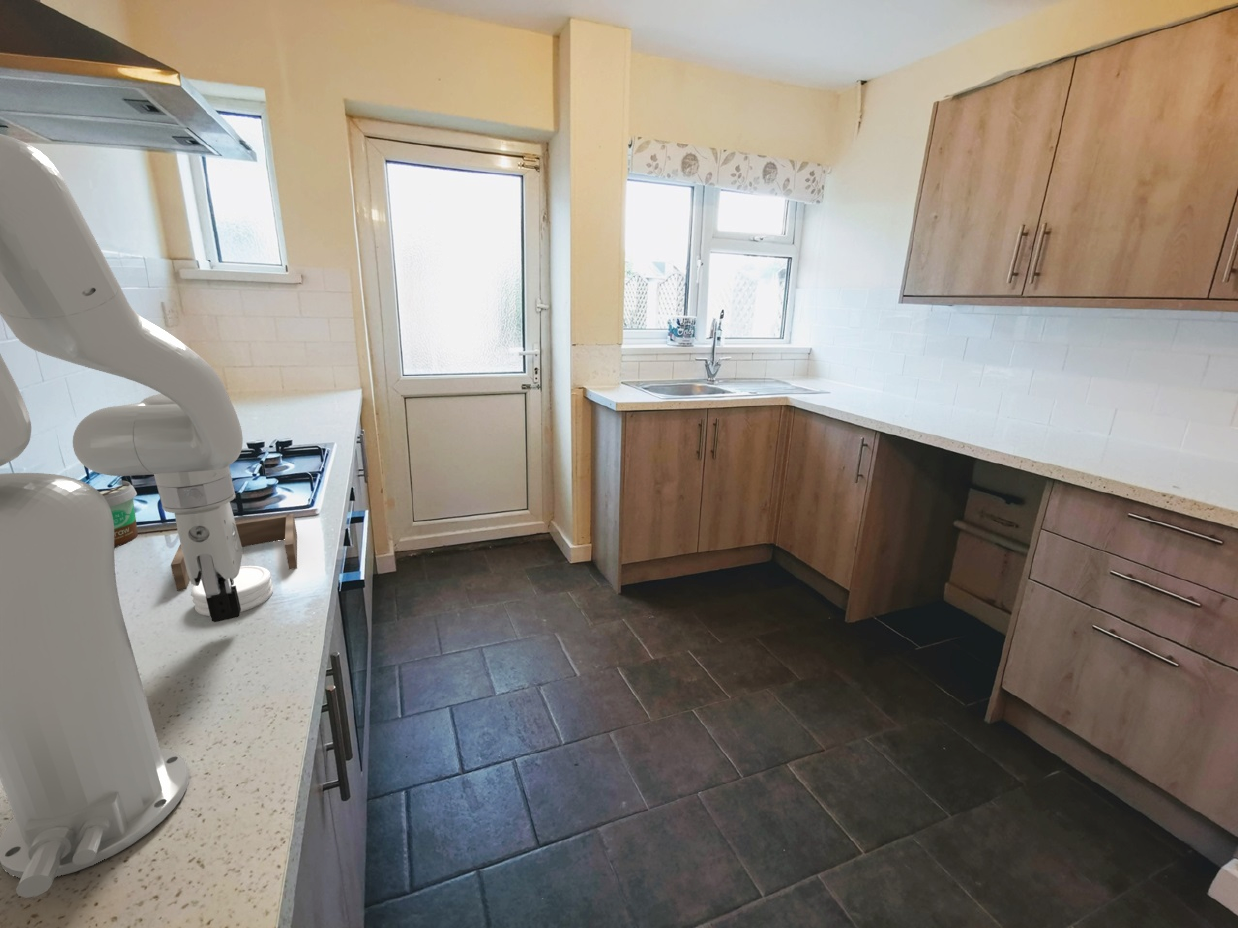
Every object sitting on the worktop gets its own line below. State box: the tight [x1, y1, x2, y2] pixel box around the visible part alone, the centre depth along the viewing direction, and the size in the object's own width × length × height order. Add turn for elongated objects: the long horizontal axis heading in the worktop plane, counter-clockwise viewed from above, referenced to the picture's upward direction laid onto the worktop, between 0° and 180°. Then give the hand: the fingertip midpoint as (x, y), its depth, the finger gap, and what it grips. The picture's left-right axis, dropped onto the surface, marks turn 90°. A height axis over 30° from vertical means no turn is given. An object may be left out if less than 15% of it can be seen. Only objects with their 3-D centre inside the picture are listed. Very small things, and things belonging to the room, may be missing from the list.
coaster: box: [191, 565, 274, 617], centre depth 85 cm, size 10×10×4 cm
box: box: [170, 513, 298, 592], centre depth 97 cm, size 15×16×4 cm
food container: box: [98, 480, 139, 548], centre depth 103 cm, size 12×6×10 cm, turn 168°
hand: (226, 616), depth 76 cm, fingers closed
